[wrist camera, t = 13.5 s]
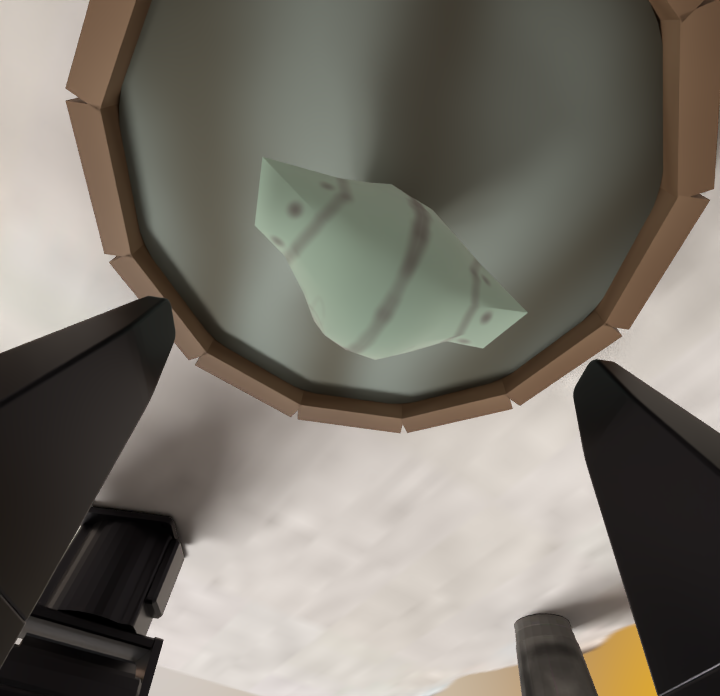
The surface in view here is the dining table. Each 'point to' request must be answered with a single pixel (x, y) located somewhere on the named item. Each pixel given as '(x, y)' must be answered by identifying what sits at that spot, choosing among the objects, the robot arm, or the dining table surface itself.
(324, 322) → the grey-green angular piece
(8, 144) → the dining table surface
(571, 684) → the beverage cup
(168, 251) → the round tray
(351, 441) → the dining table surface
